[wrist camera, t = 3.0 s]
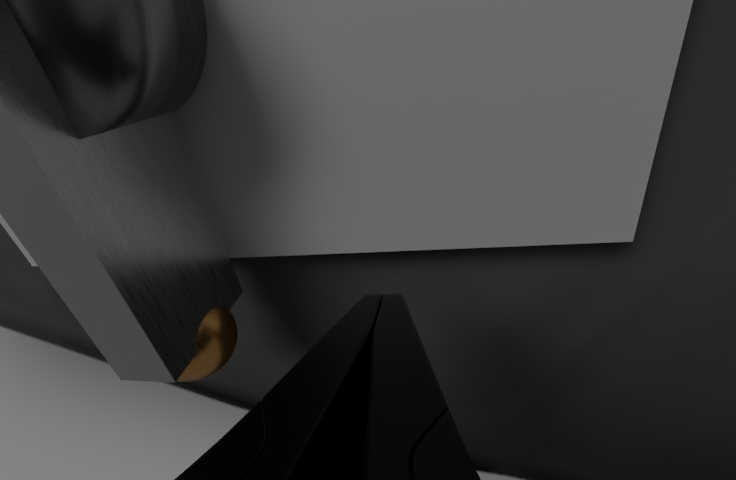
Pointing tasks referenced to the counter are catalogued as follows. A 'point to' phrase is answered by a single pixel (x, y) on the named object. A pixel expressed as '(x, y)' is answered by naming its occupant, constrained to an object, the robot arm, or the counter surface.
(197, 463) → the robot arm
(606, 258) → the counter surface
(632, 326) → the counter surface
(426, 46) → the white mechanism board
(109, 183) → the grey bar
